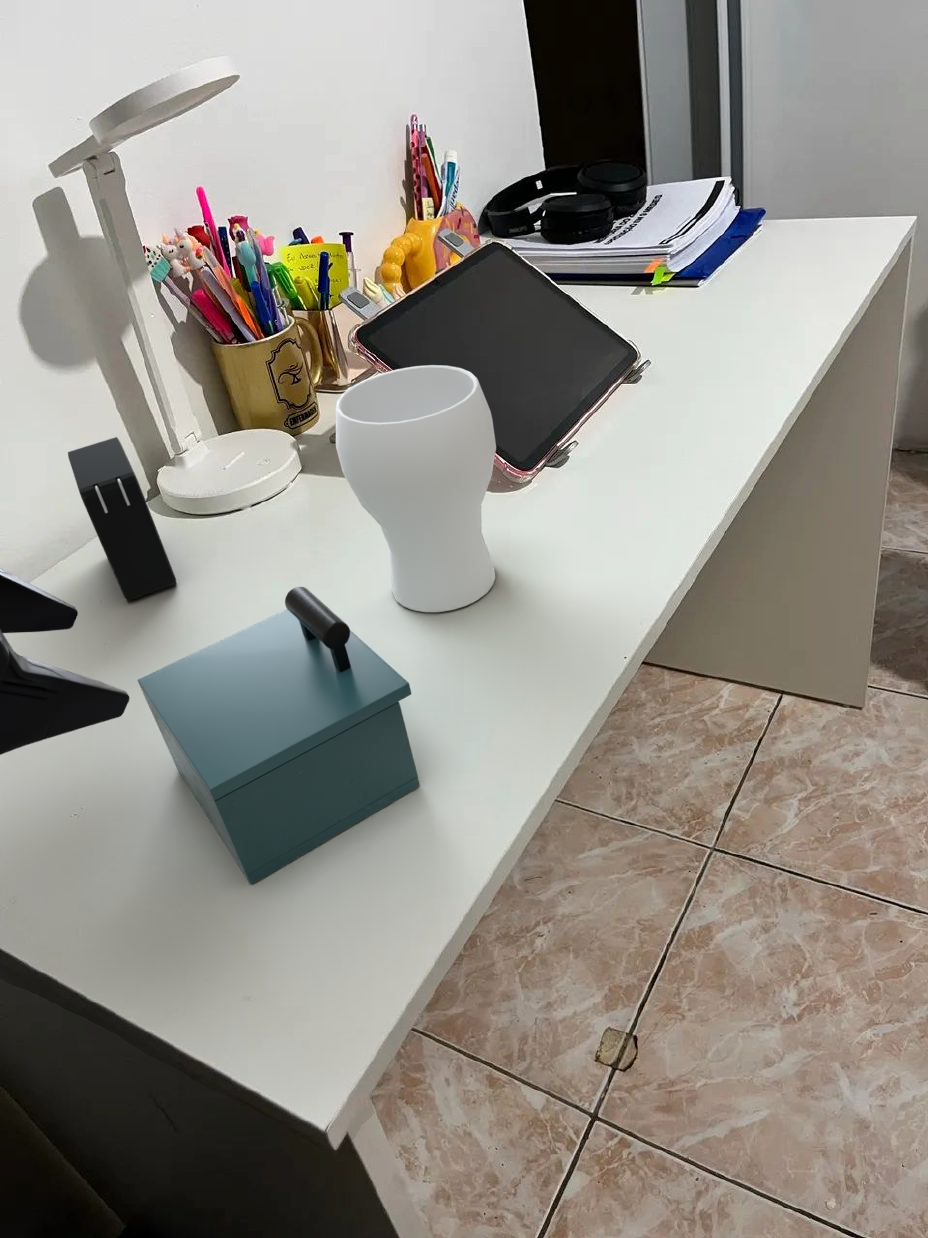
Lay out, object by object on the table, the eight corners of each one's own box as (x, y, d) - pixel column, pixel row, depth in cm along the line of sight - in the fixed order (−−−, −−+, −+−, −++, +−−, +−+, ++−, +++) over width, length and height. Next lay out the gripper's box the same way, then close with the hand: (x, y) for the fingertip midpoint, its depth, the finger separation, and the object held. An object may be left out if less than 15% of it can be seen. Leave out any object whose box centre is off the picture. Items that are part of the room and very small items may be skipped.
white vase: (489, 631, 65) (455, 428, 56) (350, 619, 69) (298, 428, 60) (531, 548, 73) (507, 359, 64) (404, 542, 76) (366, 363, 68)
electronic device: (157, 537, 84) (116, 433, 78) (179, 587, 76) (136, 475, 70) (110, 553, 83) (65, 449, 77) (127, 605, 75) (79, 493, 69)
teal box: (328, 691, 62) (305, 612, 59) (420, 786, 54) (399, 702, 50) (177, 769, 58) (141, 690, 54) (251, 886, 50) (214, 802, 46)
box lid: (316, 606, 59) (300, 552, 57) (412, 694, 50) (397, 634, 48) (141, 690, 54) (116, 634, 52) (214, 801, 46) (188, 741, 44)
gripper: (-245, 446, 27) (237, 583, 37) (-245, 324, 41) (108, 449, 51) (-358, 782, 29) (130, 824, 39) (-321, 557, 42) (33, 632, 53)
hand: (98, 658), depth 45 cm, fingers open, 9 cm apart
